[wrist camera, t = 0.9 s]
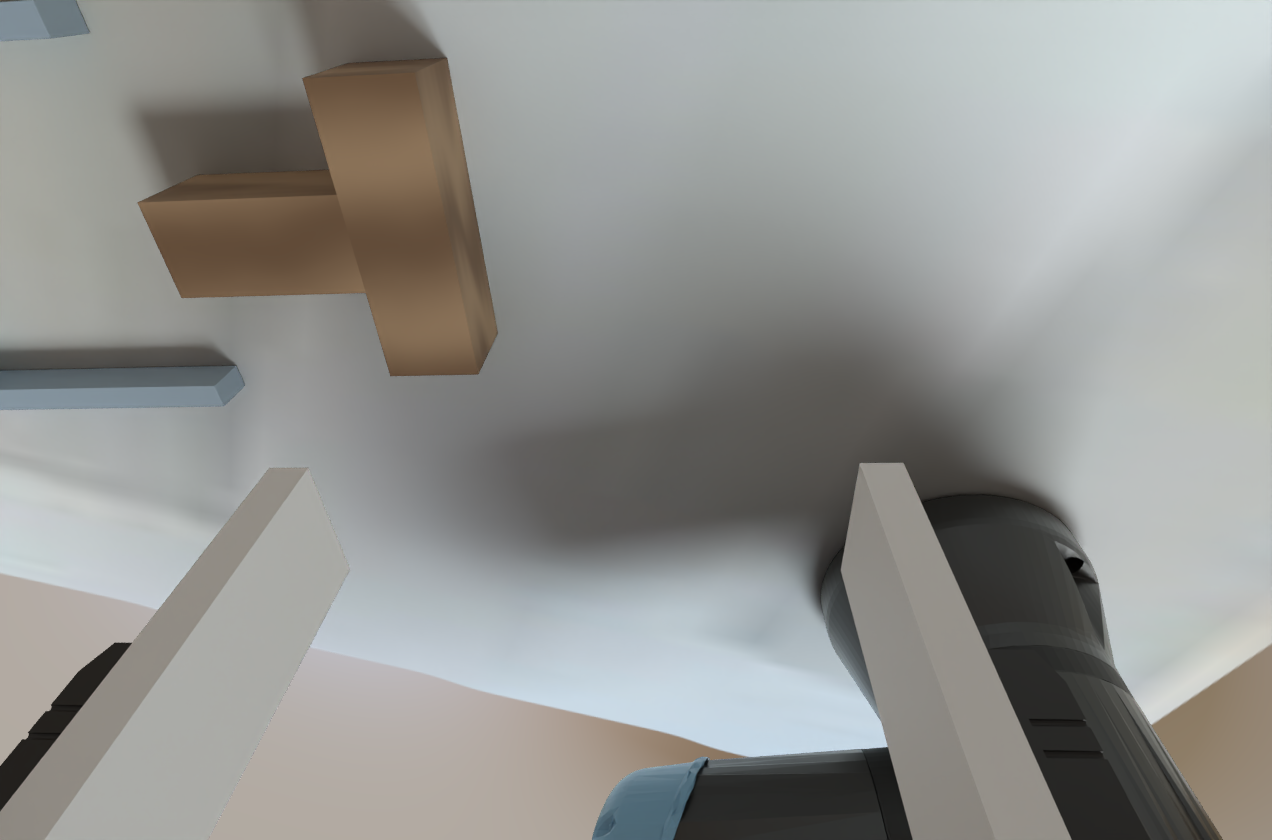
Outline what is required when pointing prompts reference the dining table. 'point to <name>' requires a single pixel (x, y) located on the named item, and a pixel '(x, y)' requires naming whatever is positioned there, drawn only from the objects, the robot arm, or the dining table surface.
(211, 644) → the robot arm
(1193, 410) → the dining table surface
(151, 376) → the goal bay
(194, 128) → the dining table surface
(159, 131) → the dining table surface
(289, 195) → the t block
